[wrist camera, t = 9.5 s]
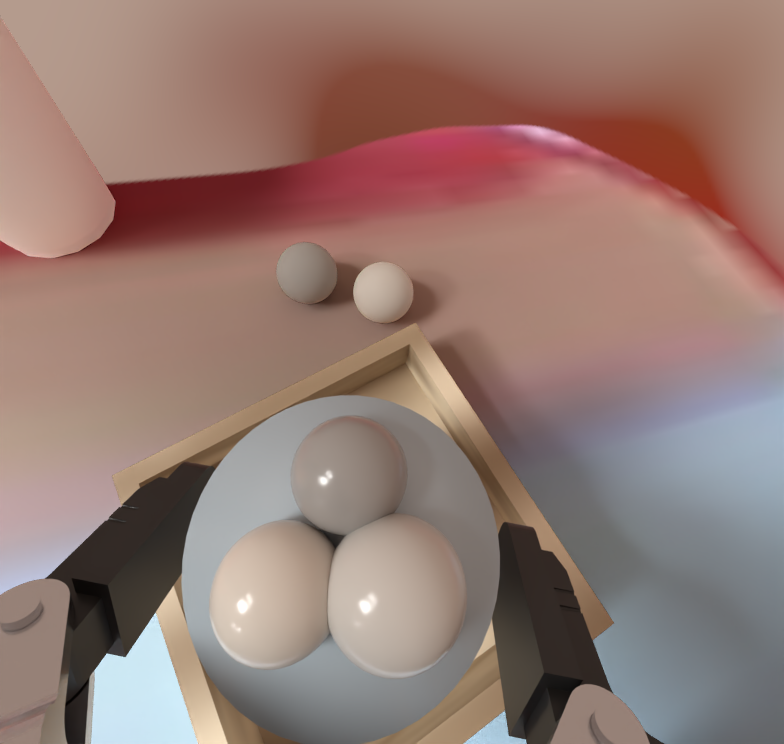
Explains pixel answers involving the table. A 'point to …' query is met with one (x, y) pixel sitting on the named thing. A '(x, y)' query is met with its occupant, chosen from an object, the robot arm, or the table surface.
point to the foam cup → (43, 168)
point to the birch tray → (459, 421)
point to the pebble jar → (340, 570)
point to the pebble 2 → (383, 292)
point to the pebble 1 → (306, 273)
